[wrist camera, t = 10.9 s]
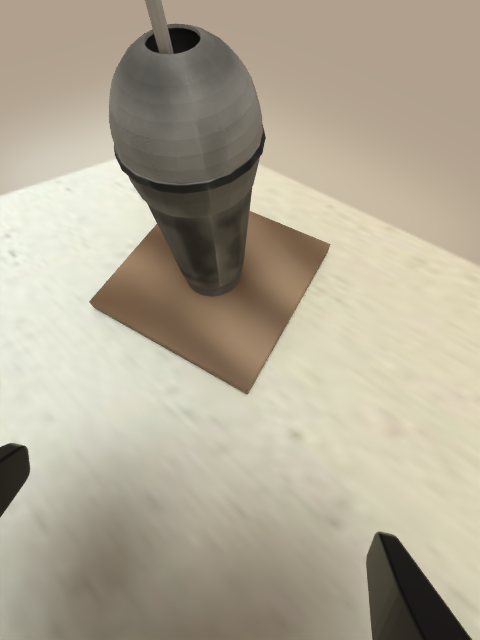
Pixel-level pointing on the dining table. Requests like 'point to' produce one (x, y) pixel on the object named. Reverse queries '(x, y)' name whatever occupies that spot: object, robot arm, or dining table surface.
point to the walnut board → (216, 300)
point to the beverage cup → (190, 144)
